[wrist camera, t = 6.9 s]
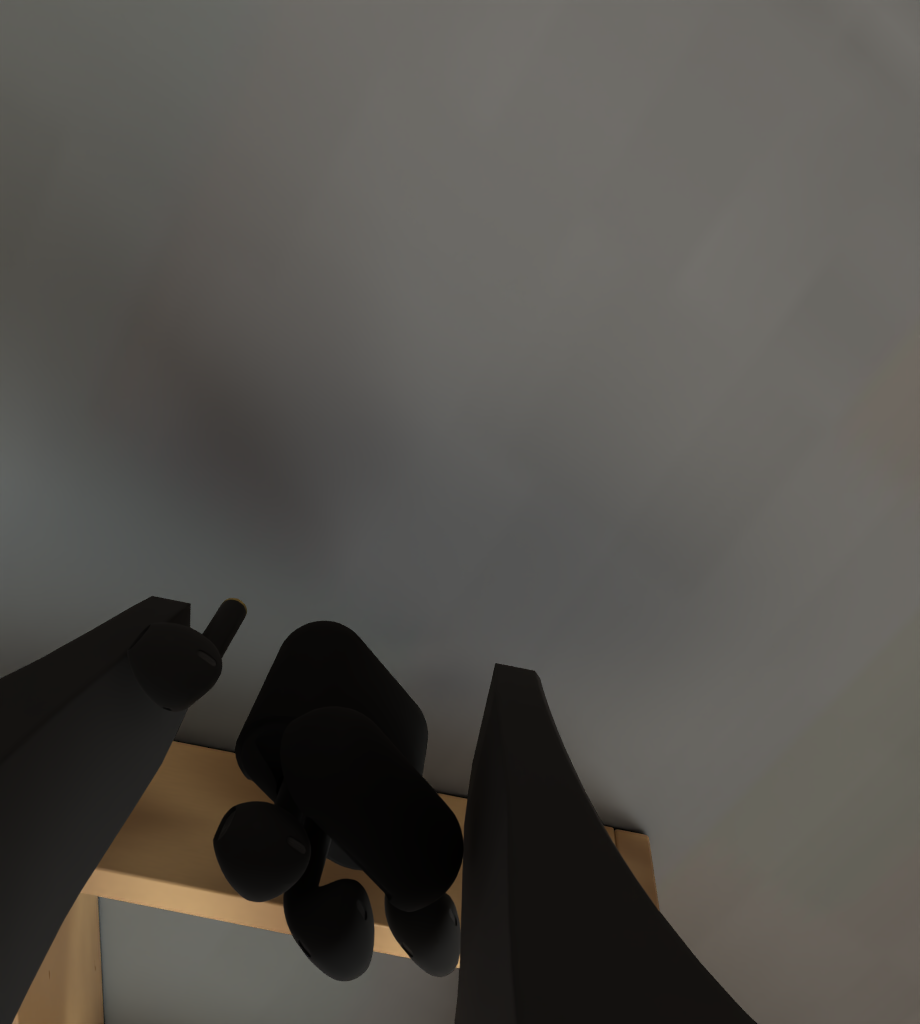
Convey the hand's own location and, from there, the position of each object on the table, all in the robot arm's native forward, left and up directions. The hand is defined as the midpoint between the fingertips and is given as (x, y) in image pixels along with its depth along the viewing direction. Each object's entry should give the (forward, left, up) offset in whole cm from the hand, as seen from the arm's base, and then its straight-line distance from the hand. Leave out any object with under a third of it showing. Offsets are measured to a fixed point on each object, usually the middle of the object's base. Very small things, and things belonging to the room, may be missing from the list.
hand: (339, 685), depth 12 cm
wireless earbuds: (0, -1, -2) cm, 2 cm away
